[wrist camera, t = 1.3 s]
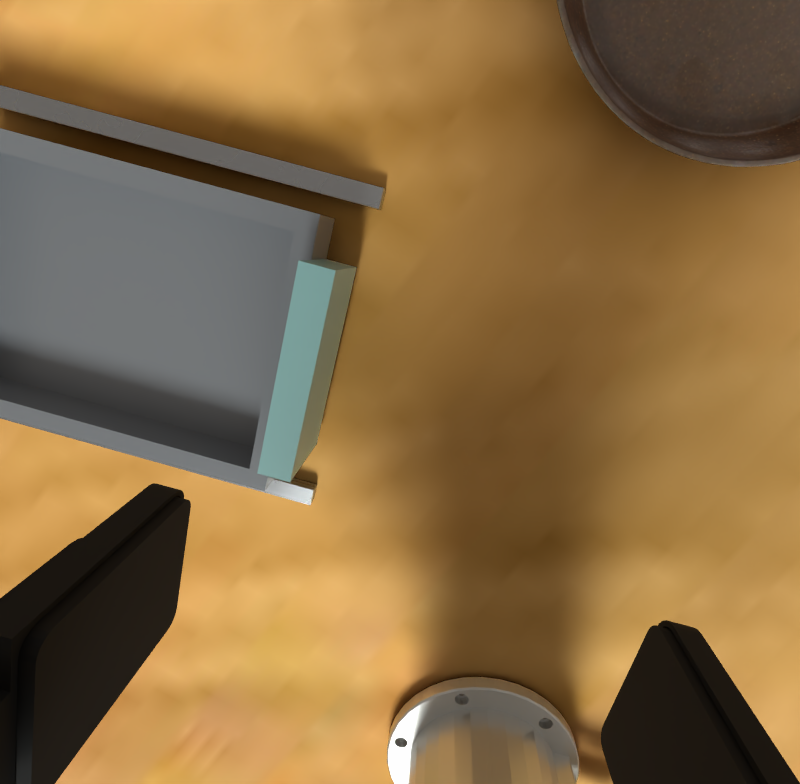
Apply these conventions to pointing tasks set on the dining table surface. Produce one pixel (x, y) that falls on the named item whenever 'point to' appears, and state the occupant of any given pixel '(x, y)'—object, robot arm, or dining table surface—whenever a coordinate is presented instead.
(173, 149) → the rails
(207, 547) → the dining table surface
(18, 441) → the dining table surface
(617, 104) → the plant saucer
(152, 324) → the drawer
